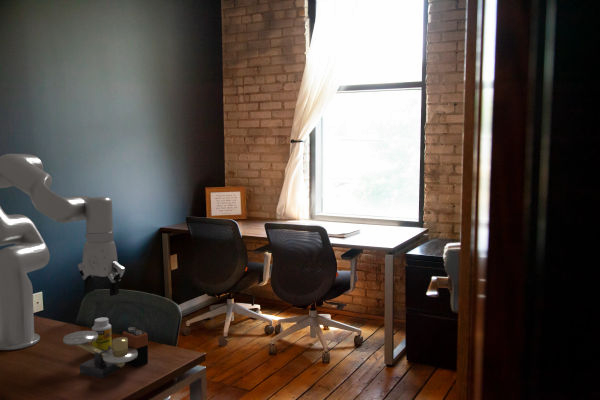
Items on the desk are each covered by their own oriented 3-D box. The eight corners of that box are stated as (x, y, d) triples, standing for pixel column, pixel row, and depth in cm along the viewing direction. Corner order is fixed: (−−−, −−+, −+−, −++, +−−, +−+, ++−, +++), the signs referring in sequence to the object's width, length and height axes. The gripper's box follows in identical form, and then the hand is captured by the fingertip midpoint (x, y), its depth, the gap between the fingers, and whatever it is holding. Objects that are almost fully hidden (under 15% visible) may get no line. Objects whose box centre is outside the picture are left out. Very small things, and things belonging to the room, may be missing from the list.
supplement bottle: (94, 356, 144) (93, 323, 143) (90, 350, 148) (89, 318, 148) (113, 352, 147) (112, 320, 146) (109, 346, 152) (109, 315, 151)
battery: (135, 357, 143) (134, 325, 143) (148, 363, 139) (148, 330, 139) (122, 362, 140) (121, 328, 139) (135, 368, 136) (135, 334, 135)
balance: (56, 370, 134) (55, 339, 133) (81, 358, 142) (81, 329, 142) (122, 385, 126) (121, 351, 125) (144, 371, 134) (144, 340, 133)
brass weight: (109, 355, 130) (108, 341, 129) (119, 350, 133) (119, 336, 133) (120, 357, 128) (120, 343, 128) (131, 352, 132) (131, 338, 132)
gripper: (68, 238, 145) (70, 293, 146) (113, 241, 138) (115, 299, 140) (87, 234, 152) (89, 287, 153) (131, 237, 145) (133, 292, 147)
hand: (101, 293), depth 146 cm, fingers open, 9 cm apart
